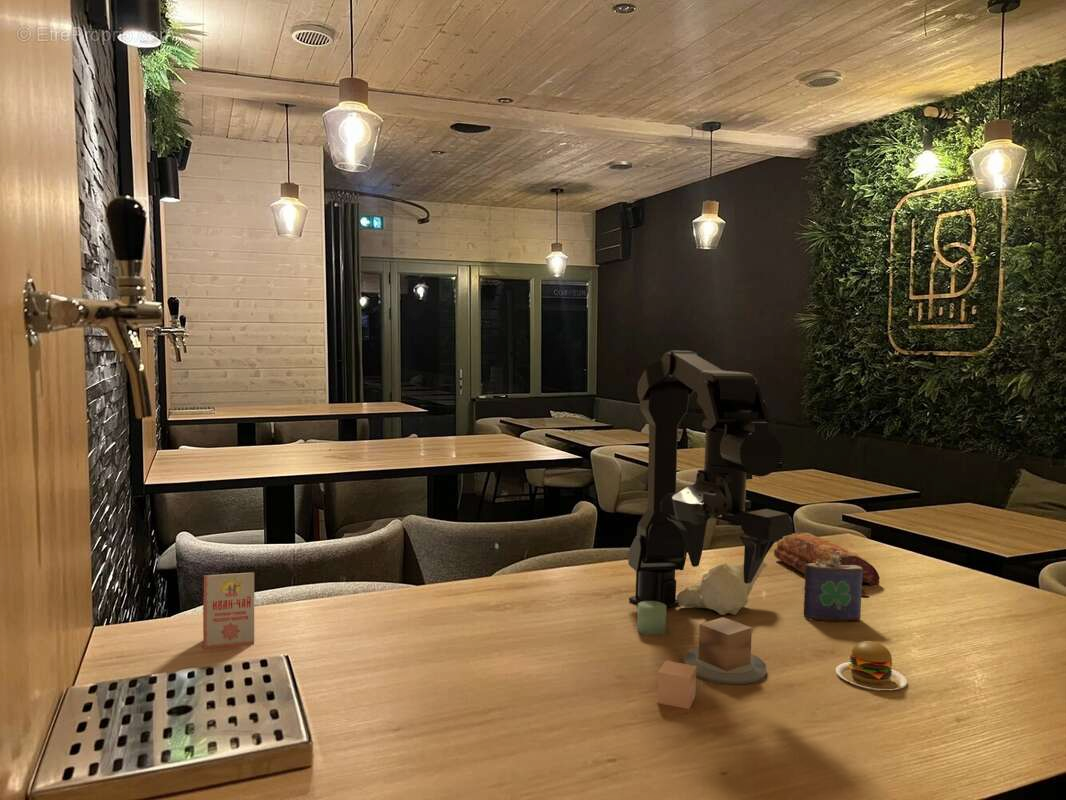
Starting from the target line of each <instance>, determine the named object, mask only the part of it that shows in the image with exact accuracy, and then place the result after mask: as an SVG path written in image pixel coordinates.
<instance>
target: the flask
mask: <svg viewBox="0 0 1066 800" xmlns="http://www.w3.org/2000/svg"><path fill="white" fill-rule="evenodd" d="M832 557H833V559H832V560H831V561H829V562H828V563H826V562H822V563H824V564H822V563H818V561H816V562H815V563H809V564H807V565H806V566H805V567H806V569H805V570H806V573H805V574H804V587H805V589H804V594H803V595H804V596H803V598H804V599H803V600H804V601H803V618H804V617H805V618H807V619H806V620H809V619H811V620H810V621H814V620H822V621H821V622H827V621H831V622H832V621H834V622H838V621H848V622H849V621H855V622H860V621H859V620H861V618H862V617H861V615H862V614H861V612H862V609H861V608H862V596H861V594H862V590H863V582H862V573H863V569H862V567H860V566H857V565H840V564H841V563H840V562H839V560H841V558H840V559H839V556H836V555H833V556H832ZM805 618H804V619H805Z"/></svg>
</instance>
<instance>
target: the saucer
mask: <svg viewBox="0 0 1066 800" xmlns="http://www.w3.org/2000/svg"><path fill="white" fill-rule="evenodd" d="M698 651H699V647H697V648H694V649H691V650H689V651H687V653H686V654H685V655H684V658H683V659H684V660H683V662H684V663H683V664H688V665H694V666H697V668H696V678H697V677H698V678H699V679H703V680H705V681H709V682H712V683H717V684H725V685H749V684H753V683H757V682H760V681H761V680H763V679H764V678H765V677H766V675H767V665H766V663H765V661H764V660H762V659H761V658H760V657H758V656H757V655H756V654H755V655H754V654H753V653H751V661H750V663H749V664H746V665H744V666H741V667H738V668H735V669H732V670H729V671H725V670H722V669H720V668H718V667H715V666H713V665H711V664H709V663H706V662H704V661H702V660H699V659H698Z"/></svg>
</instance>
